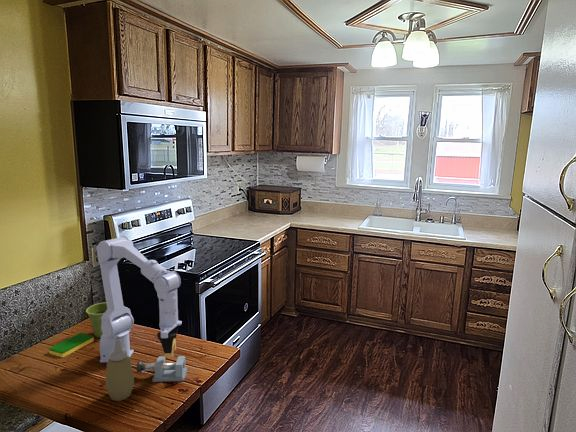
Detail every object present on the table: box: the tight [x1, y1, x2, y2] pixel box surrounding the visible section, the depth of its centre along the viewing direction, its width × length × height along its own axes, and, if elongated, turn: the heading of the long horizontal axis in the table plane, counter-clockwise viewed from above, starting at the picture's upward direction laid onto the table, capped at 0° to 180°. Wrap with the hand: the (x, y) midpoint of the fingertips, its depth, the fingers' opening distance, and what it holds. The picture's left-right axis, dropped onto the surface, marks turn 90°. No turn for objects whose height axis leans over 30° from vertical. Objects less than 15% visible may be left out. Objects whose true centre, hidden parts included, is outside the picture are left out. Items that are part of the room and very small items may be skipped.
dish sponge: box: [48, 332, 95, 358], centre depth 149 cm, size 7×14×2 cm, turn 158°
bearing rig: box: [152, 355, 188, 383], centre depth 131 cm, size 10×6×6 cm, turn 95°
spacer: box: [163, 337, 177, 358], centre depth 130 cm, size 3×5×4 cm, turn 5°
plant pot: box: [85, 301, 107, 339], centre depth 158 cm, size 12×12×11 cm
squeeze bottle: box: [105, 340, 135, 402], centre depth 119 cm, size 8×8×18 cm
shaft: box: [135, 361, 176, 373], centre depth 131 cm, size 12×3×3 cm, turn 95°
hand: (169, 348), depth 130 cm, fingers closed on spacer, 5 cm apart
